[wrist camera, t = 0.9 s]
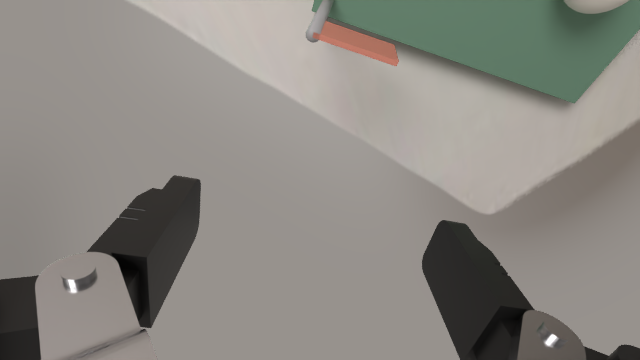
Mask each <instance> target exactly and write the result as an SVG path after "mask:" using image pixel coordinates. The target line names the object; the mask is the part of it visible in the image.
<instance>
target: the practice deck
mask: <svg viewBox="0 0 640 360" xmlns="http://www.w3.org/2000/svg"><path fill="white" fill-rule="evenodd" d="M312 11H313V12H316V14H315V16H314V18H313V20H312V22H311V23H310V25H309V27H308V29H307V31H306V38H307V39H308V40H309V41H310V42H317V41H318V40H321V41H324V42H327V43H330V44H333V45H336V46H339V47H341V48H344V49H347V50H350V51H353V52H356V53H359V54H362V55H365V56H368V57H371V58H373V59H376V60H379V61H382V62H385V63H388V64H391V65H394V66H397V64H398V62H399V60H398V57H397V53H396V49H395V46H394V45H393V44H390V43H388V42H385V41H382V40H379V39H376V38H373V37H370V36H368V35H365V34H362V33H359V32H356V31H353V30H351V29H348V28H345V27H342V26H339V25H336V24H333V23H331V22H328V21H326V20H327V17H330V18H333V19H336V20H338V21H341V22H344V23H347V24H350V25H353V26H356V27H358V28H361V29H364V30H367V31H370V32H373V33H375V34H378V35H381V36H384V37H387V38H390V39H392V40H395V41H398V42H401V43H404V44H407V45H409V46H412V47H415V48H418V49H421V50H424V51H427V52H429V53H432V54H435V55H438V56H441V57H444V58H446V59H449V60H452V61H455V62H458V63H461V64H463V65H466V66H469V67H472V68H475V69H478V70H481V71H483V72H486V73H489V74H492V75H495V76H498V77H500V78H503V79H506V80H509V81H512V82H515V83H517V84H520V85H523V86H526V87H529V88H532V89H534V90H537V91H540V92H543V93H546V94H549V95H552V96H554V97H557V98H560V99H563V100H566V101H569V102H571V103H575V102H576V101H577V100H578V99H579V98H580V97H581V95H582V94H583V93H584V92H585V91H586V90H587V89H588V87H589V86H590V85H591V84H592V83H593V82H594V81H595V79H596V78H597V77H598V76H599V75H600V74H601V73H602V71H603V70H604V69H605V68H606V67H607V66H608V65H609V63H610V62H611V61H612V60H613V59H614V58H615V57H616V55H617V54H618V53H619V52H620V51H621V50H622V49H623V47H624V46H625V45H626V44H627V43H628V42H629V41H630V39H631V38H632V37H633V36H634V35H635V34H636V33H637V31H638V30H639V29H640V0H629V1H628V2H626V3H625V4H623V5H621V6H619V7H617V8H615V9H613V10H610V11H607V12H603V13H597V14H585V13H580V12H577V11H575V10H573V9H571V8H570V7H568V6H567V4H566V3H565V2H564V0H314V4H313V8H312Z"/></svg>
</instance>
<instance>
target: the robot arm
mask: <svg viewBox="0 0 640 360" xmlns="http://www.w3.org/2000/svg"><path fill="white" fill-rule="evenodd" d="M200 191H201V183H200V180H199V179H194V178H188V177H182V176H173V177H172V178H171V179H170V180H169V182H168V183H167V184H166V185H165V187H164V188H163V189H162V190H161V189H155V188H152V189H150V190H148V191H146V192H144V193H142V194H140V195H138V196H137V197H136V198H135V199H134V200H133V201H132V203H130V205H129V206H128V208H127V209H125V210H124V211H123V212H122V213H121V214H120V216H119V218H117V219H116V220H115V221H114V222H113V223H112V225H111V226H110V227H109V228H108V229H107V230H106V231H105V232H104V233H103V234H102V235H101V237H100V238H99V239H98V240H97V241H96V242H95V243H94V244H93V245H92V246H91V248H90V249H89V250H88V251H87V252H84V253H78V254H73V255H70V256H67V257H64V258H62V259H60V260H58V261H56V262H54V263H52V264H51V265H49V266H48V267H47V268H45V269H44V270H43V271H42V272H41V273H40V275H38V276H32V277H21V278H11V279H1V280H0V360H158V359H157V356H156V353H155V350H154V348H153V345H152V342H151V339H150V337H149V335H148V333H147V331H146V330H145V329H143V330H141V328H140V327H147V328H151V327H152V325H153V323H154V321H155V319H156V317H157V315H158V313H159V311H160V309H161V307H162V305H163V302H164V300H165V298H166V296H167V294H168V292H169V290H170V288H171V286H172V284H173V282H174V280H175V278H176V276H177V274H178V272H179V270H180V268H181V266H182V264H183V262H184V260H185V258H186V256H187V254H188V252H189V250H190V248H191V246H192V244H193V242H194V239H195V237H196V234H197V231H198V226H199V215H200ZM422 269H423V273H424V275H425V277H426V280H427V282H428V285H429V287H430V289H431V292H432V294H433V296H434V299H435V301H436V304H437V306H438V308H439V310H440V313H441V315H442V318H443V320H444V322H445V325H446V327H447V329H448V332H449V334H450V337H451V339H452V341H453V344H454V346H455V348H456V351H457V353H458V355H459V357H460V360H640V348H637V347H634V346H631V345H621V346H619V347H618V348H617V349H616V350H615V351H614V352H613V353H612V354H611V355H610V356H607V355H605V354H602V353H600V352H597V351H595V350H592V349H589V348H587V347H584V346H583V344H582V342H581V340H580V339H579V338H578V336H577V335H576V334H575V333H574V332H573V331H572V330H571V329H570V328H569V327H568V326H566V325H565V324H564V323H562V322H561V321H560V320H558V319H556V318H555V317H553V316H551V315H549V314H547V313H544V312H541V311H536V310H534V309H533V307H532V306H531V305H530V303H529V302H528V300H527V299H526V298H525V296H524V295H523V294H522V292H521V291H520V290H519V288H518V287H517V285H516V284H515V283H514V281H513V280H512V279H511V277H510V276H508V275H507V274H508V273H507V272H506V271H505V269H504V268H503V267H502V266H500V262H499V261H498V260H497V258H496V257H495V256H494V254H493V253H492V252H491V251H490V250H489V249H488V248H487V247H486V246H484V245H483V244H482V243H481V242H480V241H478V240H477V238H476V237H475V236H474V234H473V233H472V232H471V230H470V229H469V227H468V226H467V225H466V224H463V223H457V222H452V221H446V220H442V221H441V222H440V223H439V224H438V225H437V228H436V229H435V232H434V234H433V236H432V238H431V240H430V242H429V245H428V246H427V249H426V251H425V253H424V255H423V260H422Z"/></svg>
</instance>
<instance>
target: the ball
mask: <svg viewBox="0 0 640 360" xmlns="http://www.w3.org/2000/svg"><path fill="white" fill-rule="evenodd" d="M628 1H629V0H564V2H565V3H566V4H567V6H568V7H570V8H571V9H573V10H575V11H577V12H580V13H585V14H597V13H603V12H607V11H610V10H613V9H615V8H617V7H619V6H621V5H623V4H625V3H626V2H628Z"/></svg>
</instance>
